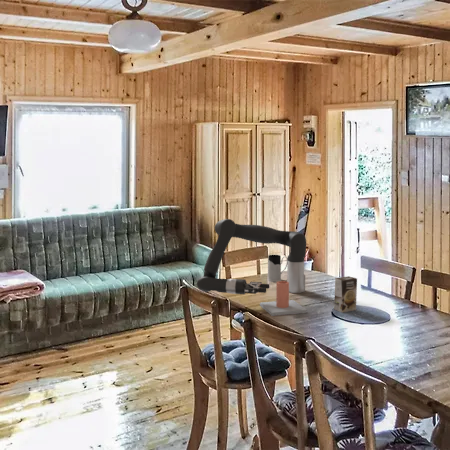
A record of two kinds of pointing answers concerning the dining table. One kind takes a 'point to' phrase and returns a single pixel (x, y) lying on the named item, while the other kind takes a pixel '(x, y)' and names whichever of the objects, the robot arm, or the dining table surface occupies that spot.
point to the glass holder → (275, 268)
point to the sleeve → (282, 294)
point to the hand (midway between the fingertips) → (267, 288)
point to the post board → (292, 309)
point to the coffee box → (345, 294)
